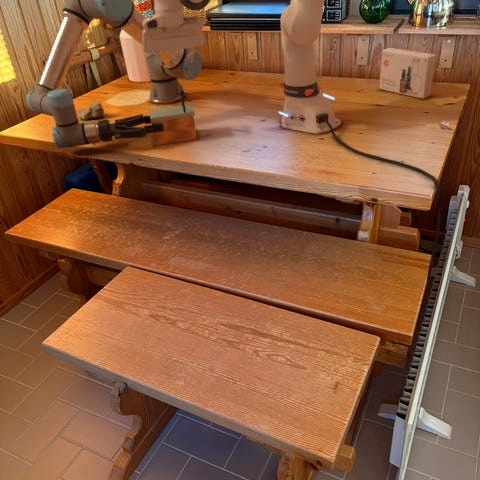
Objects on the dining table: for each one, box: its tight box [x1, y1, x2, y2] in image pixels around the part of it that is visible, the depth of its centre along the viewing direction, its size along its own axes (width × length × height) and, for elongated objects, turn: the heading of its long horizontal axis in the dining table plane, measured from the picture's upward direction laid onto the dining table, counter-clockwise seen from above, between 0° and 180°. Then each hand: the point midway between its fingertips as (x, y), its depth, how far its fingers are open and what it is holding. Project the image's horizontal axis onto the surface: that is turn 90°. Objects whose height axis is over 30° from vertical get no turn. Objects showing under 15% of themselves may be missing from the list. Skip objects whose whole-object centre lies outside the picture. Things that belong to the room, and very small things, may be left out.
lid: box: [149, 84, 196, 122], centre depth 162 cm, size 16×9×9 cm, turn 101°
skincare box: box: [378, 47, 437, 100], centre depth 184 cm, size 21×6×16 cm, turn 40°
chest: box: [150, 116, 198, 146], centre depth 167 cm, size 15×9×9 cm, turn 101°
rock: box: [78, 101, 105, 121], centre depth 195 cm, size 11×6×10 cm
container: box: [119, 29, 151, 83], centre depth 235 cm, size 21×21×28 cm
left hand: (162, 122), depth 166 cm, fingers closed on chest, 9 cm apart
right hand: (176, 63), depth 156 cm, fingers open, 8 cm apart
